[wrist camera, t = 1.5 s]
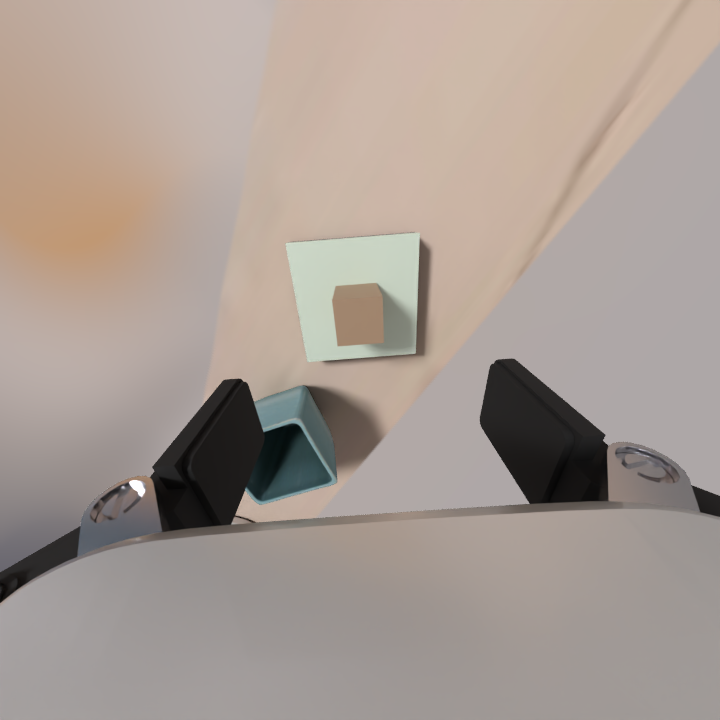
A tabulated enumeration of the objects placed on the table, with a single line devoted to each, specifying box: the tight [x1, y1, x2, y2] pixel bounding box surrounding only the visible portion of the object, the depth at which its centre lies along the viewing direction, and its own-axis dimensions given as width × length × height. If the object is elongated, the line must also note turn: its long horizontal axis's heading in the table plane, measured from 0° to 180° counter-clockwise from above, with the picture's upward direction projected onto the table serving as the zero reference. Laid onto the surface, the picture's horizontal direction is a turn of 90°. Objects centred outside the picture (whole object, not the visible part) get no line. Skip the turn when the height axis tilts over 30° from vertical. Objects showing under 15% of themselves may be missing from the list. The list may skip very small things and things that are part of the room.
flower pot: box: [245, 386, 337, 505], centre depth 27 cm, size 9×9×9 cm
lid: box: [285, 233, 420, 362], centre depth 22 cm, size 11×11×6 cm
